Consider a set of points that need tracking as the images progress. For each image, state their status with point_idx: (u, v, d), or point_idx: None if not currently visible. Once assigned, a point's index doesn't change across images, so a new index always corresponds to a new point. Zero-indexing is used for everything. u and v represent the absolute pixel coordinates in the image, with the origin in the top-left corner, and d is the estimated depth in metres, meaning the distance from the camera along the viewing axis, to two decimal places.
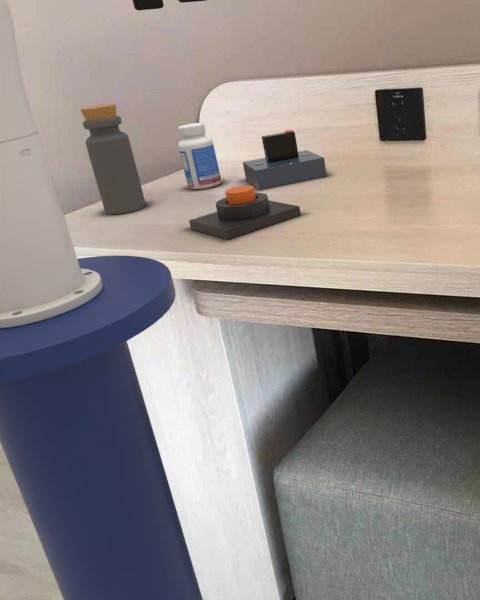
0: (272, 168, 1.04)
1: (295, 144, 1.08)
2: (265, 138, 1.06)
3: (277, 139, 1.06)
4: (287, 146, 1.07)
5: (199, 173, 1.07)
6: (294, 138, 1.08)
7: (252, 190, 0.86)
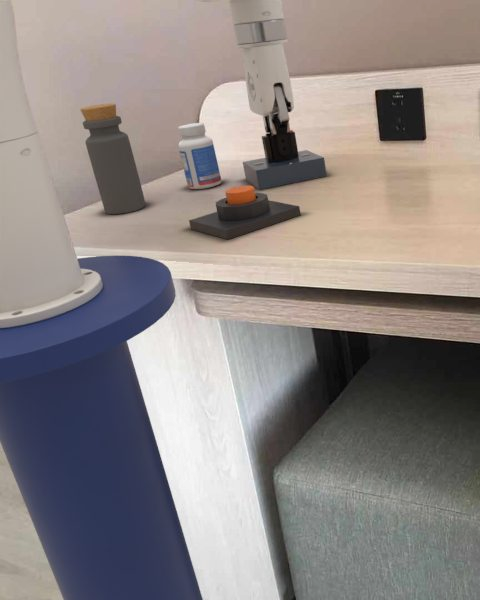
0: (272, 168, 1.04)
1: (295, 144, 1.08)
2: (265, 138, 1.06)
3: None
4: None
5: (199, 173, 1.07)
6: (294, 138, 1.08)
7: (252, 190, 0.86)
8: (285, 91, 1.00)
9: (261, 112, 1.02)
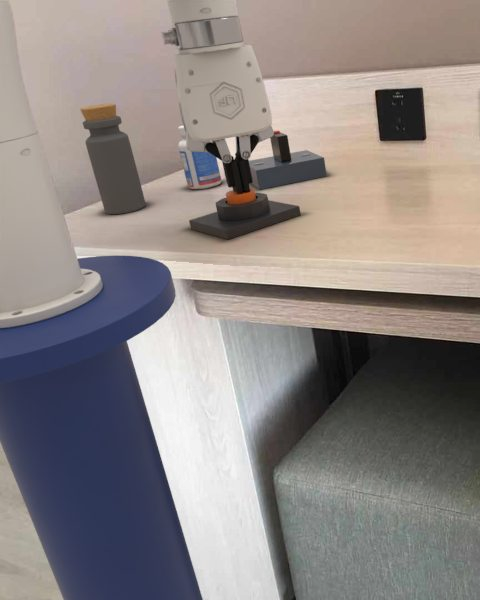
0: (272, 168, 1.04)
1: None
2: (287, 136, 1.05)
3: None
4: None
5: (199, 173, 1.07)
6: None
7: (252, 192, 0.86)
8: None
9: (260, 126, 0.82)
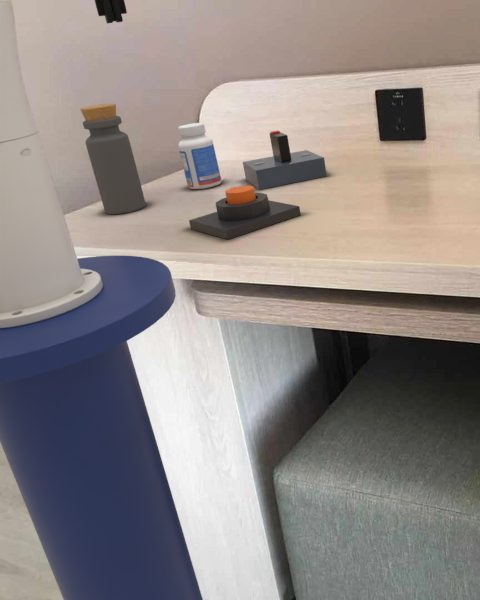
0: (272, 168, 1.04)
1: None
2: (287, 136, 1.05)
3: None
4: None
5: (199, 173, 1.07)
6: None
7: (252, 190, 0.86)
8: None
9: None
